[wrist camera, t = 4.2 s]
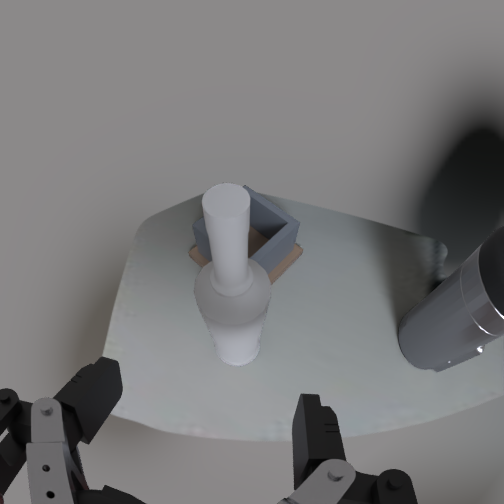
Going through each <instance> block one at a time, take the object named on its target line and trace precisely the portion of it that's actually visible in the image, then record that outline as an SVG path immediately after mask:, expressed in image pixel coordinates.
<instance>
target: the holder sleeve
mask: <svg viewBox="0 0 504 504" xmlns="http://www.w3.org/2000/svg"><path fill="white" fill-rule="evenodd" d="M243 188H244V189H245V190H247V192H248V194H249V196H250V226H249V232H248V258H249V259H252V260H254V261H256V262H257V263H258V264H259V265H260V266H261V267H262V268H263V269H264V270H265V271H266V273H267V275H268V277H269V280H270V282H271V285H272V284H273V283H274V282H275V281H276V280H277V279H278V278H279V277H280V276H281V275H282V274H283V273H284V272H285V271H286V270H287V269H288V268H289V266H290V265H291V264H292V263H293V262H294V261H295V260H296V259H297V258H298V257H299V256H300V255H301V254H302V252H303V249H302V248H300V247H299V246H298V245H296V244H295V241H296V237H297V233H298V229H299V225H300V222H299V221H297V220H296V219H294V218H293V217H291V216H290V215H288V214H287V213H286V212H284V211H283V210H281V209H280V208H278V207H277V206H275V205H274V204H273V203H271V202H270V201H268V200H267V199H265V198H264V197H262V196H261V195H259V194H258V193H256V192H255V191H253V190H252V189H250V188H249V187H247V186H246V185H244V186H243ZM193 230H194V234H195V239H196V243H197V246H195V247H194V248H193V249H192V250H190V251H189V252H188V253H189V256H190V257H191V258H192V259H193V260H194V261H195V262H196V263H198V264H199V265H200V266H201V267H202V268H203V267H204V266H205V265H207V264H208V263H209V262H211V261H212V255H211V249H210V243H209V236H208V233H207V230H206V226H205V220H204V216H203V217H202V218H200V219H199V220H198V221H196V222H195V223H194V224H193Z"/></svg>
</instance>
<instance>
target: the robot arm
mask: <svg viewBox="0 0 504 504" xmlns="http://www.w3.org/2000/svg"><path fill="white" fill-rule="evenodd" d="M503 335H504V226H502V227H500V228H498V229H496V230H495V231H494V232H493V233H492V234H491V235H490V236H489V237H488V238H487V239H486V240H485V241H484V242H483V243H482V244H481V246H479V248H478V249H477V250H476V251H475V252H474V253H473V254H472V255H471V256H470V257H469V258H468V259H467V260H466V261H465V262H464V263H463V264H462V265H461V266H460V267H459V268H458V269H456V270H455V271H454V272H453V273H452V274H451V275H450V276H449V277H448V278H447V279H446V280H445V281H444V282H442V283H441V284H440V285H439V286H438V287H437V288H436V289H435V290H434V291H432V292H431V293H430V294H429V295H428V296H427V297H425V298H424V299H423V300H422V301H421V302H420V303H418V304H417V305H415V306H414V307H413V308H412V309H411V310H410V311H409V312H408V313H406V315H405V316H404V317H403V319H402V321H401V323H400V327H399V344H400V347H401V350H402V352H403V354H404V356H405V358H406V359H407V360H408V361H409V362H410V363H411V364H412V365H414V366H415V367H418V368H420V369H434V370H435V371H437V372H439V371H442V370H445V369H447V368H450V367H452V366H455V365H457V364H459V363H462V362H464V361H467V360H469V359H471V358H473V357H476V356H478V355H480V354H481V353H482V352H483V350H484V347H485V345H486V344H488V343H490V342H491V341H493V340H495V339H497V338H499V337H501V336H503ZM122 391H123V386H122V380H121V374H120V367H119V363H118V361H116V360H113V359H109V358H106V357H100V358H99V359H98V361H97V362H96V363H95V364H94V365H93V364H89V365H87V366H85V367H83V368H81V369H80V370H79V371H78V372H77V373H76V376H74V377H73V378H72V379H71V381H69V382H68V383H67V384H66V385H65V386H64V387H63V388H62V389H61V390H60V391H59V392H58V393H57V394H56V395H55V396H54V397H53V398H41V399H38V400H37V401H35V402H34V403H29V402H25V401H21V400H19V398H18V395H17V393H16V392H15V391H13V390H12V389H8V388H5V389H1V390H0V435H1V434H2V433H3V432H4V430H5V429H6V428H7V430H8V432H9V433H8V434H7V435H6V436H5V438H4V439H3V440H2V441H1V442H0V504H4V499H3V495H4V494H5V492H6V491H7V489H8V487H9V486H10V484H11V482H12V481H13V480H14V478H15V477H16V475H17V474H18V472H19V471H20V469H21V468H22V466H23V465H24V463H25V462H26V460H27V469H28V479H29V488H30V495H31V502H32V504H146V503H144V502H142V501H141V500H139V499H137V498H135V497H134V496H132V495H130V494H127V493H125V492H122V491H119V490H117V489H114V488H112V487H109V486H107V485H105V486H104V488H103V490H90V489H89V487H88V485H87V482H86V479H85V476H84V472H83V467H82V463H81V459H80V455H79V450H78V446H77V444H78V443H79V441H82V442H84V443H86V444H90V442H91V440H92V439H93V438H94V436H95V435H96V433H97V432H98V430H99V429H100V427H101V426H102V424H103V423H104V421H105V420H106V418H107V417H108V415H109V414H110V413H111V411H112V410H113V408H114V407H115V405H116V404H117V402H118V401H119V399H120V398H121V395H122ZM292 440H293V467H294V490H296V491H295V492H293V493H292V494H291V495H290V496H289V497H288V498H284V499H282V500H281V501H280V502H278V503H277V504H418V503H417V499H416V495H415V492H414V488H413V485H412V481H411V479H410V477H409V476H408V474H406V473H405V472H403V471H401V470H397V469H390V470H386V471H384V472H382V473H381V474H380V475H379V476H375V475H368V474H364V473H360V472H357V471H355V470H354V468H353V466H352V465H351V464H349V463H348V462H347V461H346V457H345V453H344V448H343V443H342V439H341V434H340V429H339V426H338V420H337V416H336V414H335V413H334V411H333V410H332V409H331V408H330V406H321V402H320V397H319V395H318V394H301V395H300V397H299V401H298V405H297V408H296V412H295V415H294V419H293V425H292Z"/></svg>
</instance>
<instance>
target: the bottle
mask: <svg viewBox="0 0 504 504" xmlns="http://www.w3.org/2000/svg"><path fill="white" fill-rule="evenodd" d="M202 207H203V213H204V220H205V226H206V230H207V233H208V236H209V243H210V249H211V255H212V261H211V262H209V263H208V264H207V265H205V266H204V267H203V268H202V270H201V271H200V273H199V274H198V276H197V278H196V280H195V287H194V295H195V298H196V302H197V305H198V308H199V310H200V312H201V314H202V317H203V319H204V321H205V323H206V325H207V328H208V330H209V332H210V334H211V336H212V338H213V341H214V343H215V345H214V346H215V349H216V352H217V355H218V356H219V357H220V358H221V360H222V361H223V362H225V363H227V364H229V365H231V366H243V365H246V364H249V363H250V362H251V361H252V360H254V359H255V358H256V356H257V354H258V352H259V349H260V336H261V332H262V328H263V325H264V321H265V317H266V313H267V309H268V306H269V302H270V298H271V282H270V280H269V277H268V275H267V273H266V271H265V270H264V269H263V268H262V267H261V266H260V265H259V264H258V263H257V262H256V261H254V260H252V259H249V258H248V232H249V226H250V196H249V194H248V192H247V190H245V189H244V188H243V187H241V186H239V185H236V184H233V183H222V184H218V185H215V186H213V187H211V188H210V189H208V190H207V191H206V193H205V194H204V195H203V199H202Z"/></svg>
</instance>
